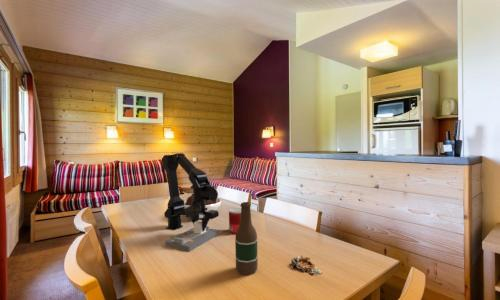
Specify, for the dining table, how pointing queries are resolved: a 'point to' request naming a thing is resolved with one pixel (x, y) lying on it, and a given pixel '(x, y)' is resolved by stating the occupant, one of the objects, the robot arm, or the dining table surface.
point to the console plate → (191, 239)
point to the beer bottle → (246, 243)
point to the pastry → (305, 265)
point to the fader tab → (198, 227)
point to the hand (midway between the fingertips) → (200, 230)
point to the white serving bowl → (209, 204)
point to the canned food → (234, 220)
